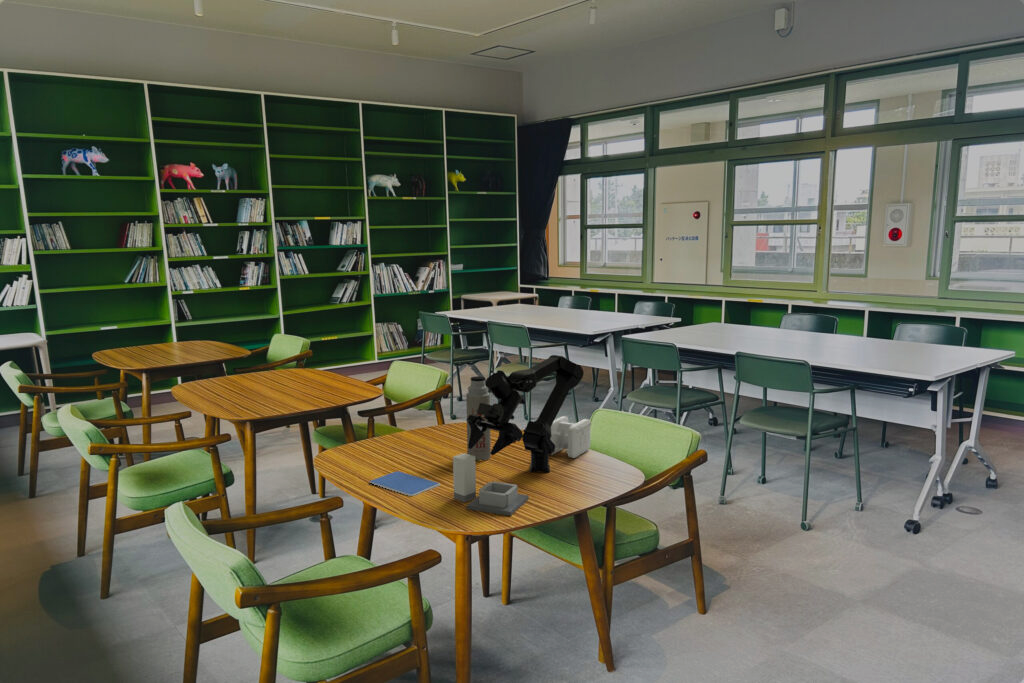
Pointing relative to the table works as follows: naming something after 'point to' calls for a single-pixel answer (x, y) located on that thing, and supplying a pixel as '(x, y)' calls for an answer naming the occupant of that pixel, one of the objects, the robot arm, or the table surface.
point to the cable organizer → (571, 436)
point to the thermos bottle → (473, 399)
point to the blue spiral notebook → (405, 483)
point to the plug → (464, 477)
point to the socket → (498, 499)
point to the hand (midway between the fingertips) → (480, 451)
